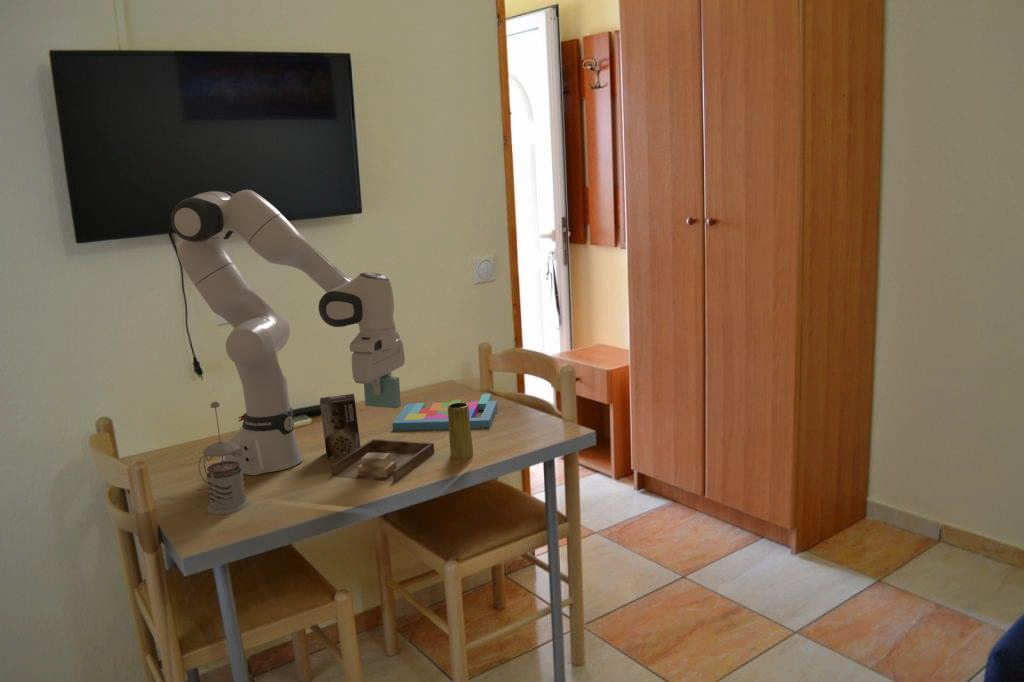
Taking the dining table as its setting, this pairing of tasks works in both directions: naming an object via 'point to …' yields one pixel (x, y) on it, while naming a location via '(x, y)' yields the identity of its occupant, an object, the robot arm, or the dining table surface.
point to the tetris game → (443, 415)
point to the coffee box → (340, 425)
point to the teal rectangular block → (384, 393)
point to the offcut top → (376, 459)
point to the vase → (460, 431)
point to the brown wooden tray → (400, 452)
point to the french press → (224, 478)
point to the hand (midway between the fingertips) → (381, 392)
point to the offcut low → (377, 470)
